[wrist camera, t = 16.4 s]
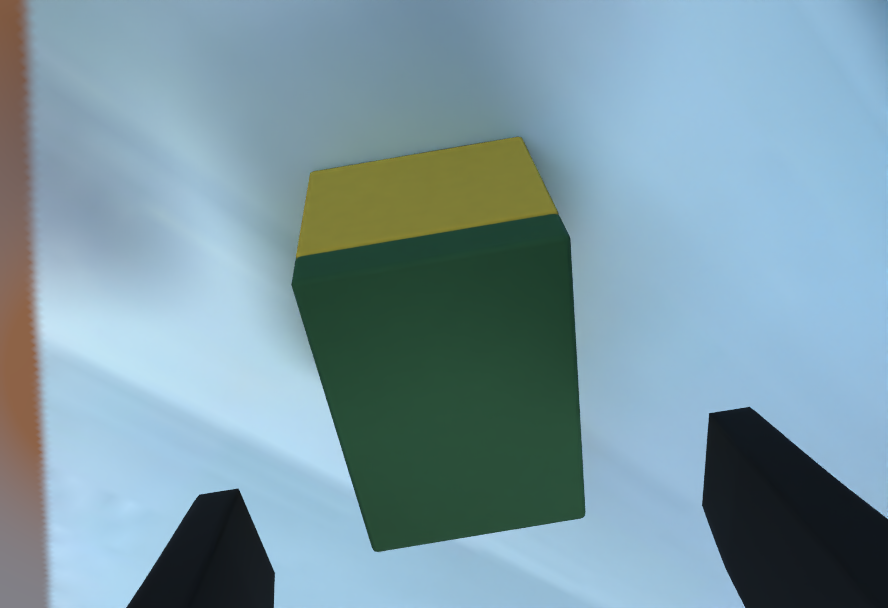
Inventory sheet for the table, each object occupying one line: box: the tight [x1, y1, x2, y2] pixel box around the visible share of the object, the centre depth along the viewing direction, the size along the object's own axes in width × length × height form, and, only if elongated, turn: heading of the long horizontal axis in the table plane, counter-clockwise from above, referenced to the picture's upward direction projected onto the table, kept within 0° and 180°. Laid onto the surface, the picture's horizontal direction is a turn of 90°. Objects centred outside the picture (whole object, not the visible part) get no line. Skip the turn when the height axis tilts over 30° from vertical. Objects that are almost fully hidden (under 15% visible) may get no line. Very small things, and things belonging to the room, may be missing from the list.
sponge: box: [292, 137, 585, 552], centre depth 14 cm, size 4×6×4 cm, turn 8°
